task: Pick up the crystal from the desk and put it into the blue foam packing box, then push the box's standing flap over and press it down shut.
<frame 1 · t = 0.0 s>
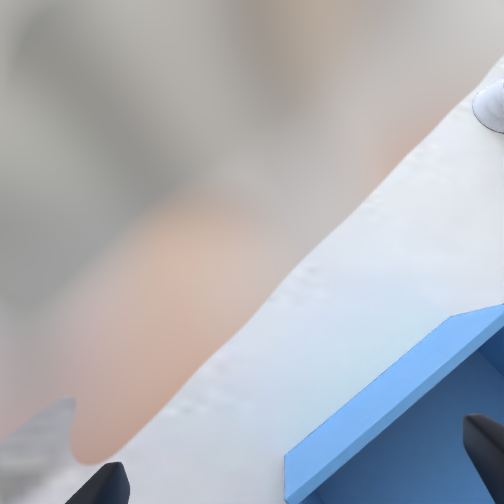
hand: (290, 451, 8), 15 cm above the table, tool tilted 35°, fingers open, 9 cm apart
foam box: (455, 488, 20), on the table
chalice: (503, 110, 28), on the table
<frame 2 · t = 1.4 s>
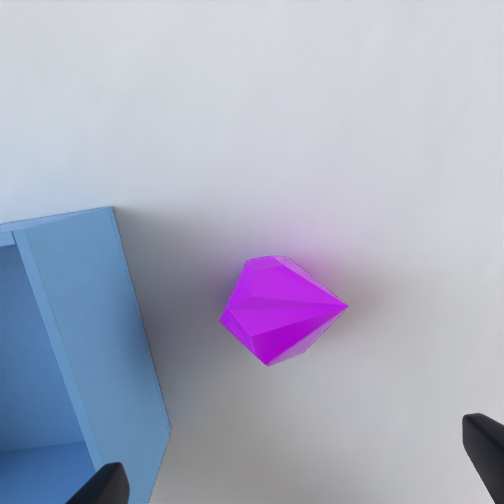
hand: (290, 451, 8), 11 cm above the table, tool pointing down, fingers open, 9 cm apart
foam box: (26, 345, 20), on the table
crystal: (273, 293, 19), on the table
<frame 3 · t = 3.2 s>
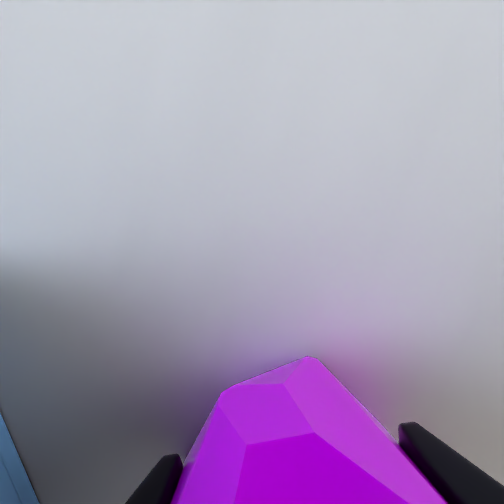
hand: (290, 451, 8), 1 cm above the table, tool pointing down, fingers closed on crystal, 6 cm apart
crystal: (282, 417, 10), on the table, touching gripper
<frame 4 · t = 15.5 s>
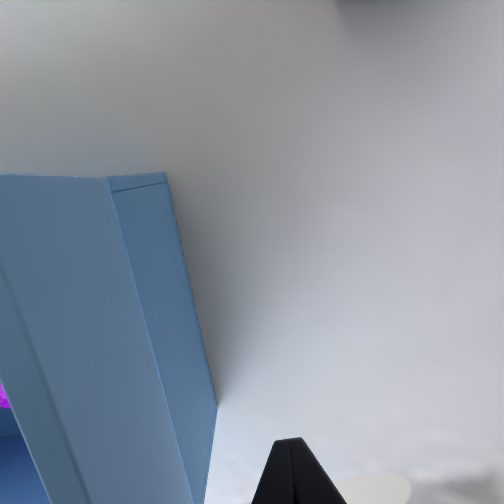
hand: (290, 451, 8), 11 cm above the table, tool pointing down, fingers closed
flap: (154, 480, 8), point 11 cm above the table, hinge at 105.6°, touching gripper
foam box: (70, 320, 19), on the table
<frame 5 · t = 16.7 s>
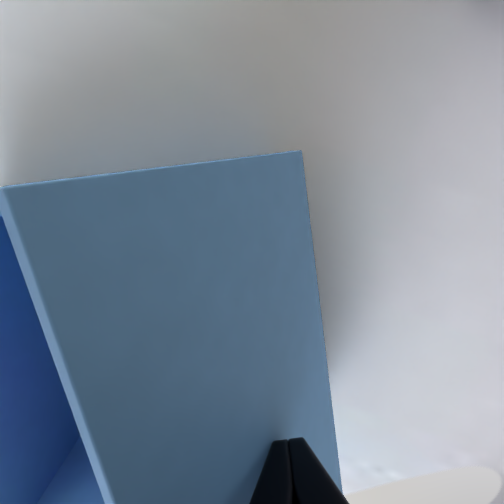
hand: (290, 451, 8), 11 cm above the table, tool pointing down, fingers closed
flap: (265, 455, 8), point 11 cm above the table, hinge at 54.2°, touching gripper
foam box: (168, 310, 19), on the table
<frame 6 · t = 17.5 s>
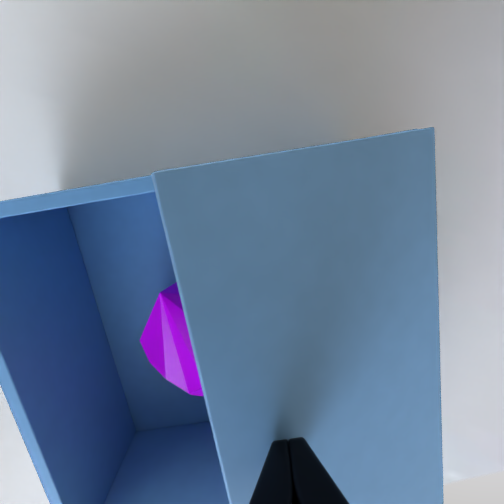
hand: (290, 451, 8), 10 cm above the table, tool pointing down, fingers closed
flap: (342, 413, 9), point 9 cm above the table, hinge at 22.1°, touching gripper
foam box: (228, 305, 18), on the table
crystal: (211, 311, 18), resting on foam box
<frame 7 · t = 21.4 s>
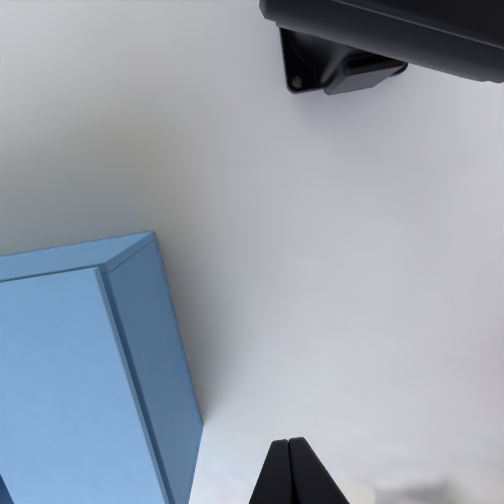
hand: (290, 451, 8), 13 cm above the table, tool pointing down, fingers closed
flap: (65, 432, 15), point 8 cm above the table, hinge at -0.5°
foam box: (75, 353, 22), on the table
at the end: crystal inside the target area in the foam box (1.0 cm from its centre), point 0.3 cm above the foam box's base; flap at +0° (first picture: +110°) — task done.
